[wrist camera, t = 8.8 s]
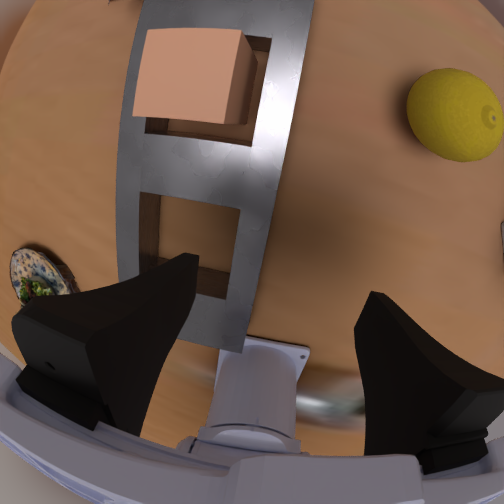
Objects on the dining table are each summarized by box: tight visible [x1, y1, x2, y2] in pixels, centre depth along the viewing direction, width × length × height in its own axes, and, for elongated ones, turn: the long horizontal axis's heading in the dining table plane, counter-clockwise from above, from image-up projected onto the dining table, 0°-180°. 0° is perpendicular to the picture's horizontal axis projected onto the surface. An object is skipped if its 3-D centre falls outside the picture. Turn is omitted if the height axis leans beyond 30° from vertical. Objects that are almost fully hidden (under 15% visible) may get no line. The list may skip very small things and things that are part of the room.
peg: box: [132, 28, 258, 124], centre depth 13 cm, size 4×4×7 cm
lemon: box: [407, 68, 504, 162], centre depth 12 cm, size 6×6×8 cm
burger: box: [10, 248, 80, 314], centre depth 23 cm, size 12×12×8 cm
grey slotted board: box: [116, 0, 314, 354], centre depth 17 cm, size 26×10×4 cm, turn 170°
